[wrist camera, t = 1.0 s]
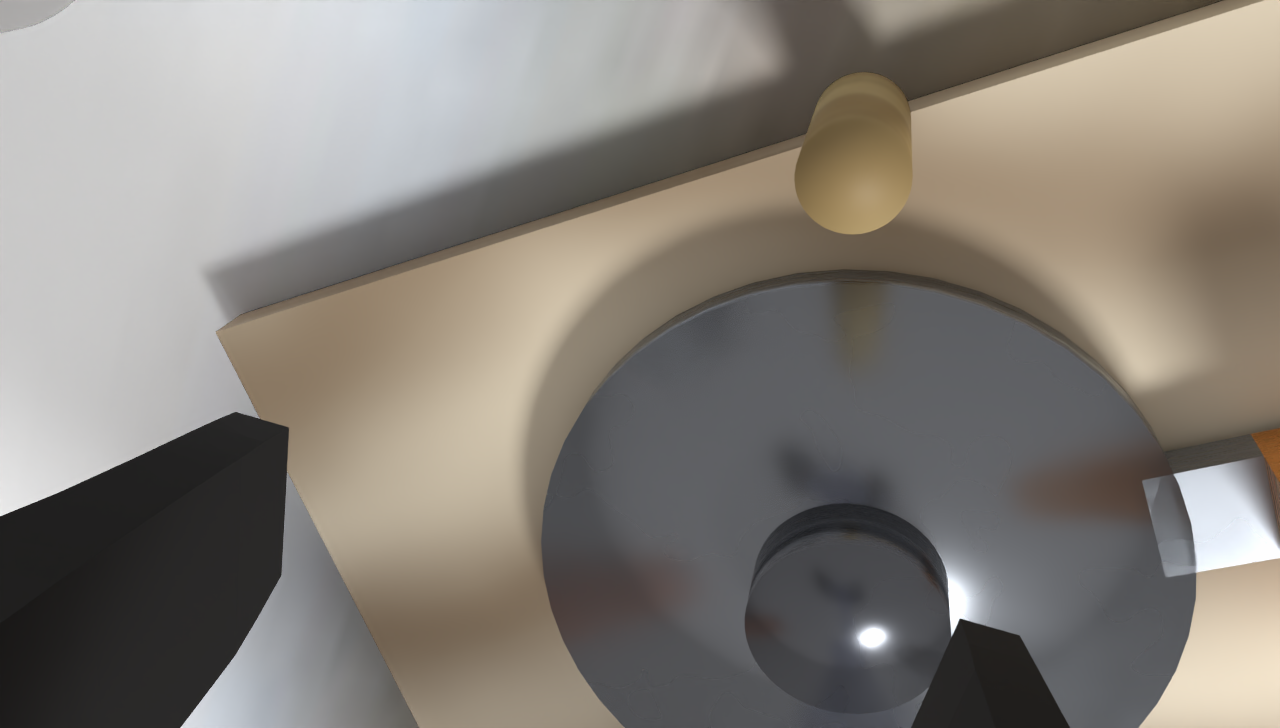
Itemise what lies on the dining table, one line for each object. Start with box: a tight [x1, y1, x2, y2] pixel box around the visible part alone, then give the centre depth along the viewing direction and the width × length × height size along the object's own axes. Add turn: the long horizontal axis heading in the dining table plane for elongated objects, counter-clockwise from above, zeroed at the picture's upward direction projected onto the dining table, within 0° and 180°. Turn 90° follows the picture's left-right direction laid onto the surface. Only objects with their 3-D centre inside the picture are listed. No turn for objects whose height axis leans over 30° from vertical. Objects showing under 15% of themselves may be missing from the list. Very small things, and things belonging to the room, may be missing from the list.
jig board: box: [216, 0, 1280, 728], centre depth 21 cm, size 17×22×5 cm
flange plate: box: [541, 269, 1280, 728], centre depth 20 cm, size 12×16×4 cm
